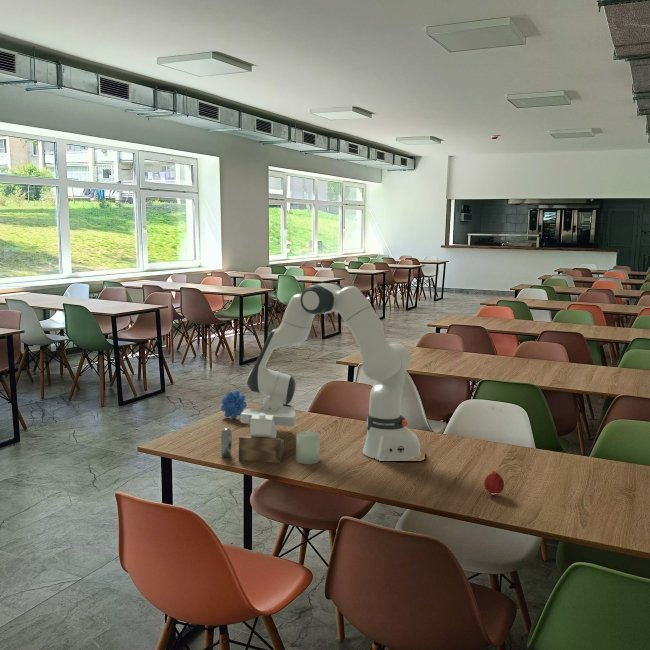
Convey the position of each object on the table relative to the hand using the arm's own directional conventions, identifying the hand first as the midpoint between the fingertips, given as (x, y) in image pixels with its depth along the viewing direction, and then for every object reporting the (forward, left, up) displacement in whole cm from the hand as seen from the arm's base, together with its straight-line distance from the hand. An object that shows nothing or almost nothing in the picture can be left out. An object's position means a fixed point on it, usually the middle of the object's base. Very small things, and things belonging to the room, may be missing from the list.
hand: (265, 424), depth 228 cm
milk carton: (0, -2, -7) cm, 7 cm away
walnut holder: (0, +6, -9) cm, 11 cm away
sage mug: (-16, +6, -9) cm, 19 cm away
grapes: (+18, -36, -10) cm, 41 cm away
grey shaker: (+12, +8, -9) cm, 17 cm away
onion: (-75, +28, -10) cm, 81 cm away
